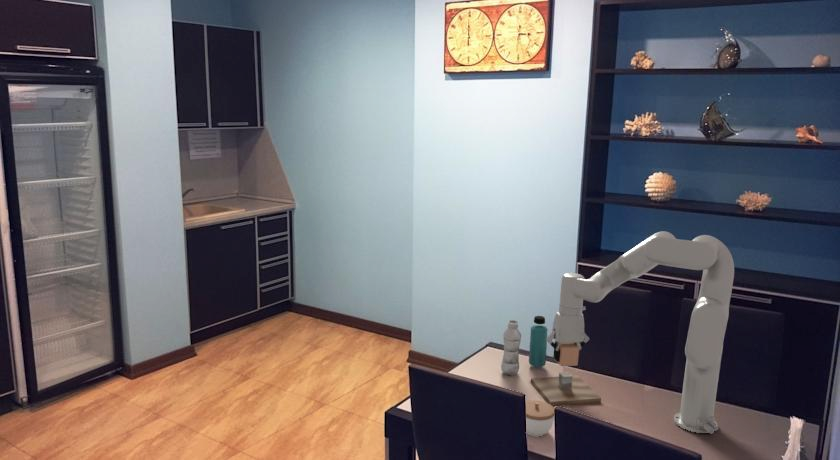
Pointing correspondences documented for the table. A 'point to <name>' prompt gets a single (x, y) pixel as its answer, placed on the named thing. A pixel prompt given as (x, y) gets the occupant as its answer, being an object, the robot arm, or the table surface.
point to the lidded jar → (538, 417)
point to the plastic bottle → (511, 349)
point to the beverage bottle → (538, 342)
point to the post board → (565, 390)
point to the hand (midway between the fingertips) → (565, 359)
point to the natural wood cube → (568, 354)
